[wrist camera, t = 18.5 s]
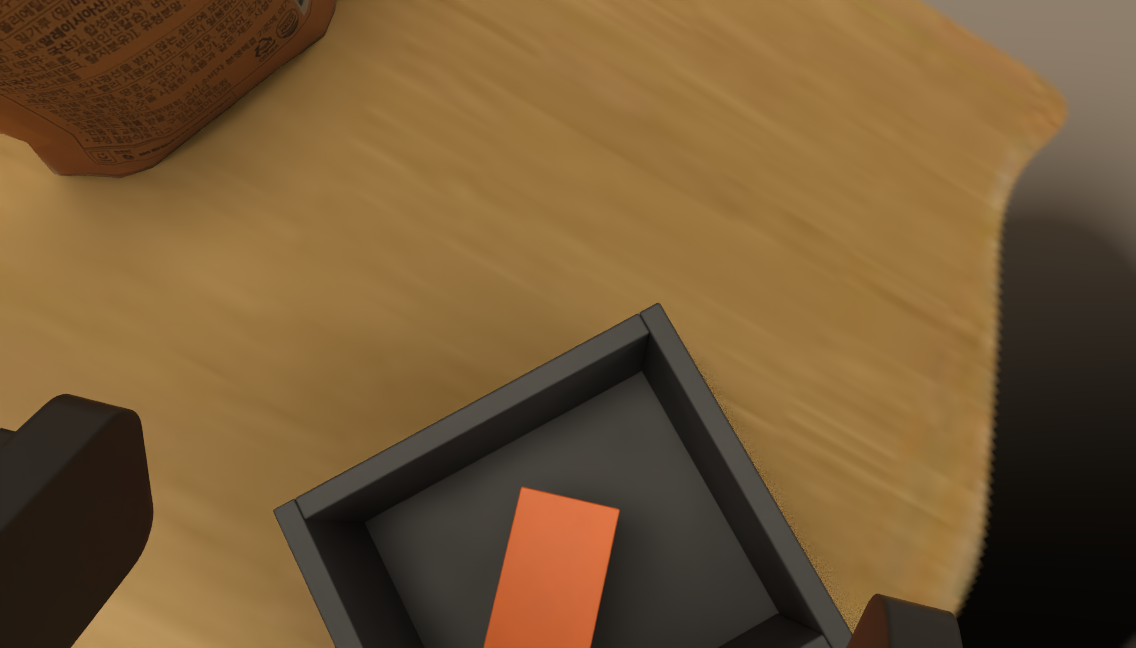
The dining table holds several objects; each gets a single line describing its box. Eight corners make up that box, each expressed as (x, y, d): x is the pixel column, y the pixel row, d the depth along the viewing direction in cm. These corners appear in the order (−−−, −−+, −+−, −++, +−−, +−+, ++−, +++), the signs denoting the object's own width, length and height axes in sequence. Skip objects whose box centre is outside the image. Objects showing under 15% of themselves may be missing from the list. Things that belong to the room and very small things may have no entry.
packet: (589, 640, 38) (582, 684, 27) (516, 622, 38) (480, 658, 27) (616, 515, 39) (620, 509, 28) (544, 498, 39) (521, 486, 28)
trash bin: (480, 804, 37) (444, 884, 29) (342, 514, 40) (271, 510, 31) (803, 619, 38) (858, 644, 30) (648, 348, 41) (659, 301, 32)
